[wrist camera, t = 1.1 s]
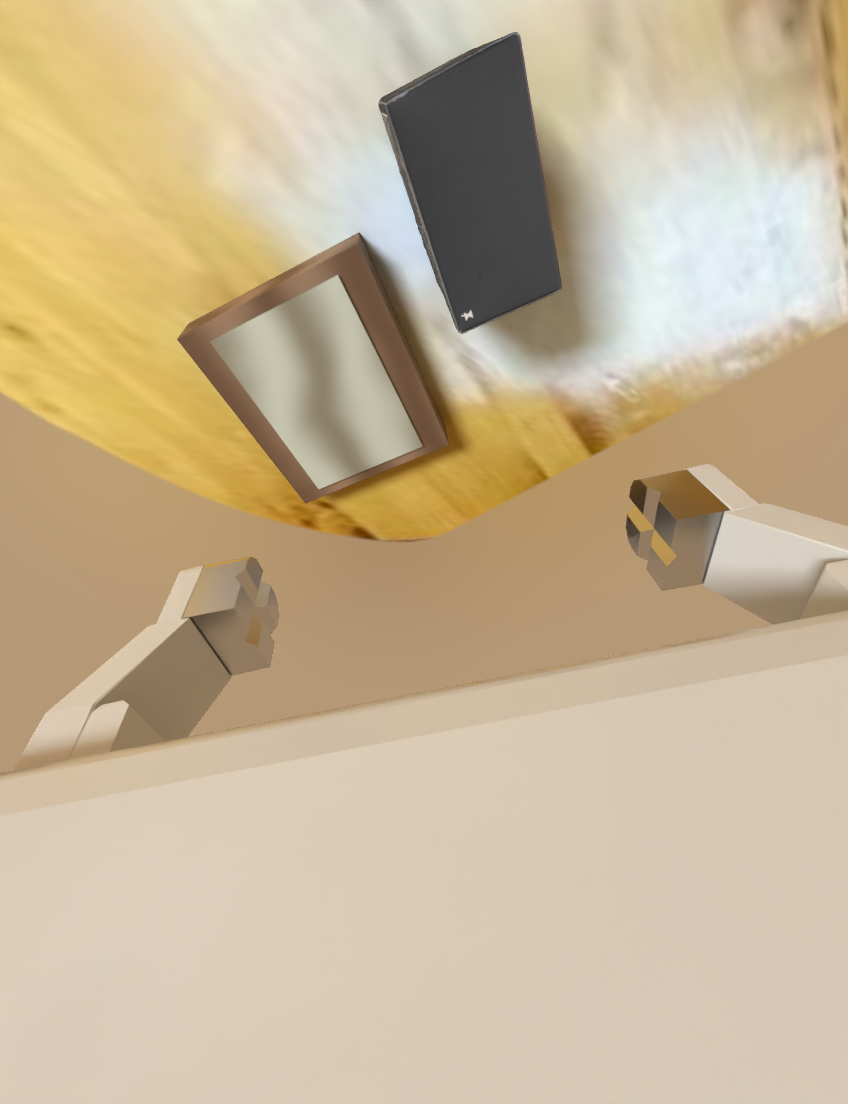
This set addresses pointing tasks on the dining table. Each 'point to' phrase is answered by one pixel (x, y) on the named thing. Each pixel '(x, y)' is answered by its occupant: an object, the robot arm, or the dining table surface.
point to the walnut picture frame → (320, 372)
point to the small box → (476, 181)
